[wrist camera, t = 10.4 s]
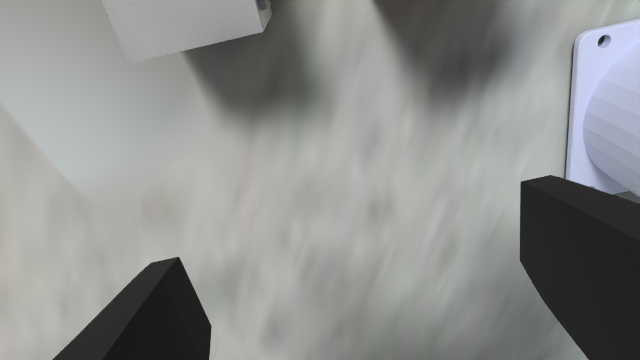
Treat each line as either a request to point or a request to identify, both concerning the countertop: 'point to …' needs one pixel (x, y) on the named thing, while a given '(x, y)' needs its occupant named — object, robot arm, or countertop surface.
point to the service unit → (182, 24)
